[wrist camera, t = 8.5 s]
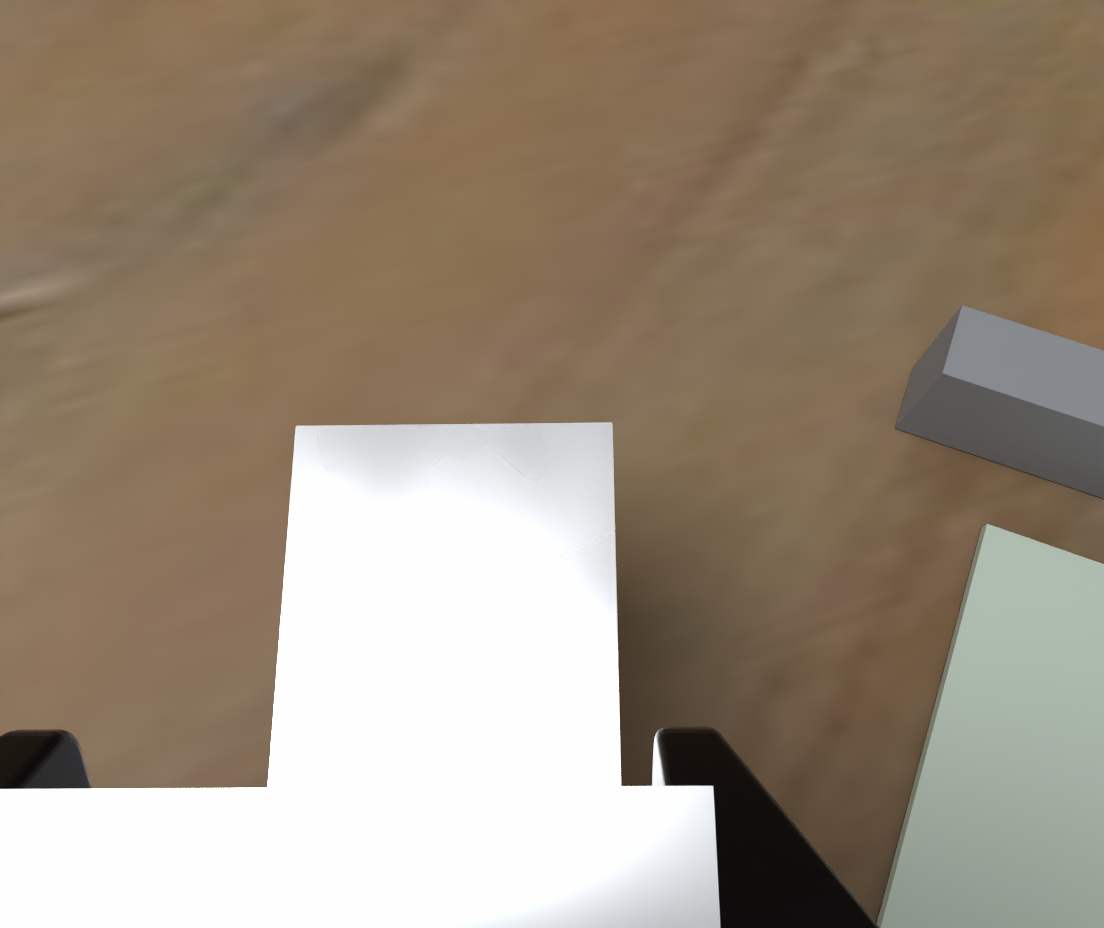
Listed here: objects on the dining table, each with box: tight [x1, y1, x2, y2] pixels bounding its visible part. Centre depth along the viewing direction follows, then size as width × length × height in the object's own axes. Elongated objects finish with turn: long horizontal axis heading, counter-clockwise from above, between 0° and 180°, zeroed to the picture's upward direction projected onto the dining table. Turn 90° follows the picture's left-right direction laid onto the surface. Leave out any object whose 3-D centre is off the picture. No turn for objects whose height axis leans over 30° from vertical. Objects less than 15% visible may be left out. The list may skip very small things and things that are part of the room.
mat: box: [877, 524, 1104, 928], centre depth 19 cm, size 10×7×1 cm
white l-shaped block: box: [0, 423, 720, 928], centre depth 9 cm, size 7×4×10 cm, turn 1°
